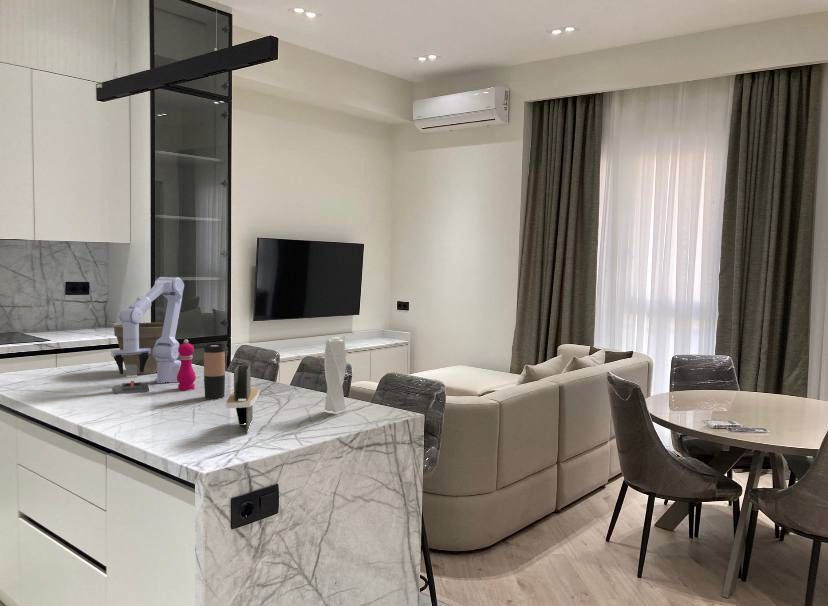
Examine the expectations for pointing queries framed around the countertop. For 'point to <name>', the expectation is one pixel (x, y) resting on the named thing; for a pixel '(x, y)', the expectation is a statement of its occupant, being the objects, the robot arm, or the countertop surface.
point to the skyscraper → (335, 373)
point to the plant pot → (142, 344)
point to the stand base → (131, 387)
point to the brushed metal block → (131, 370)
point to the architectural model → (243, 395)
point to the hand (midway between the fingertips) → (131, 373)
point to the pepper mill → (186, 367)
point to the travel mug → (214, 371)
